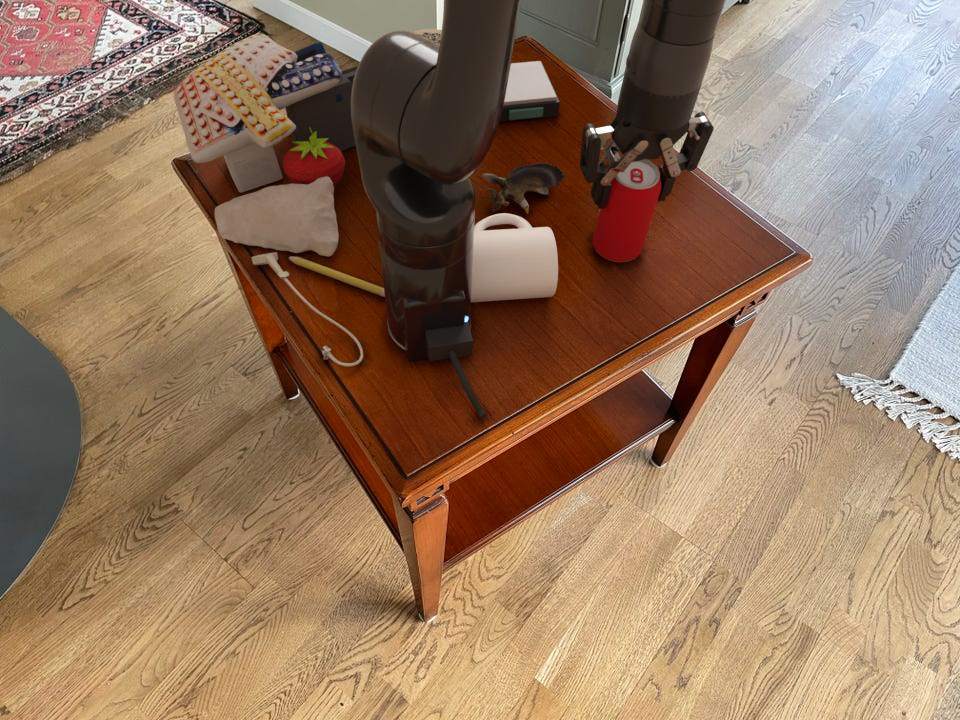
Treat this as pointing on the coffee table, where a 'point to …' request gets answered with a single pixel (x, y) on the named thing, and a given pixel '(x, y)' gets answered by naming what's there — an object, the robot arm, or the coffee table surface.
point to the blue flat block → (311, 51)
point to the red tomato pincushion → (313, 161)
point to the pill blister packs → (247, 96)
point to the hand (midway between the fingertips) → (629, 199)
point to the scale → (529, 93)
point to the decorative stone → (283, 218)
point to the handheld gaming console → (326, 114)
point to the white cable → (272, 261)
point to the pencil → (337, 275)
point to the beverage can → (628, 212)
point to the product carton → (253, 166)
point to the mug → (513, 260)
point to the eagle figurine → (523, 183)
